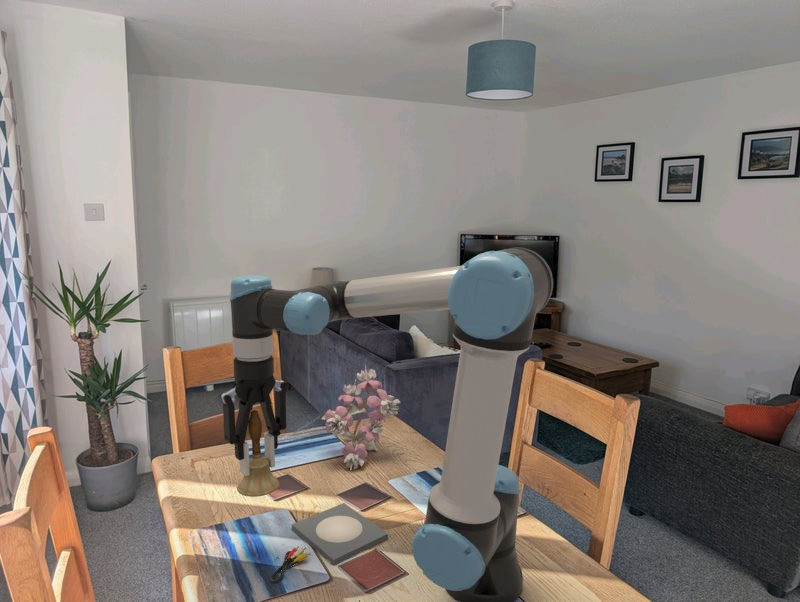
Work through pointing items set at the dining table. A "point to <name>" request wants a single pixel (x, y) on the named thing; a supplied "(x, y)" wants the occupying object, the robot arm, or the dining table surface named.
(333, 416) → the flower
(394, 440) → the dining table surface
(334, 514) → the board
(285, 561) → the composite cable
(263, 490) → the hand bell
